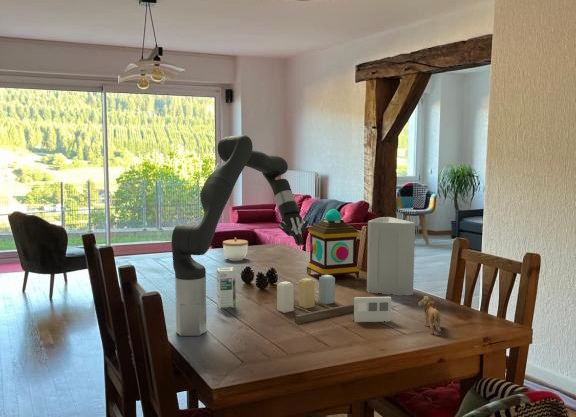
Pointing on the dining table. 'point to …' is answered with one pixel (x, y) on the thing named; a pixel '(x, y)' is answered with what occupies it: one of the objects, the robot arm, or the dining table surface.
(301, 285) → the ochre key
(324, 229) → the decorative lantern
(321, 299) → the grey rounded cylinder
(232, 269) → the syrup box
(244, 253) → the lidded bowl
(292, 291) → the ivory key
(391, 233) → the white paneled column
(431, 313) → the lion figurine
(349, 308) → the wooden slatted rack
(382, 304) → the tile
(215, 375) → the dining table surface
